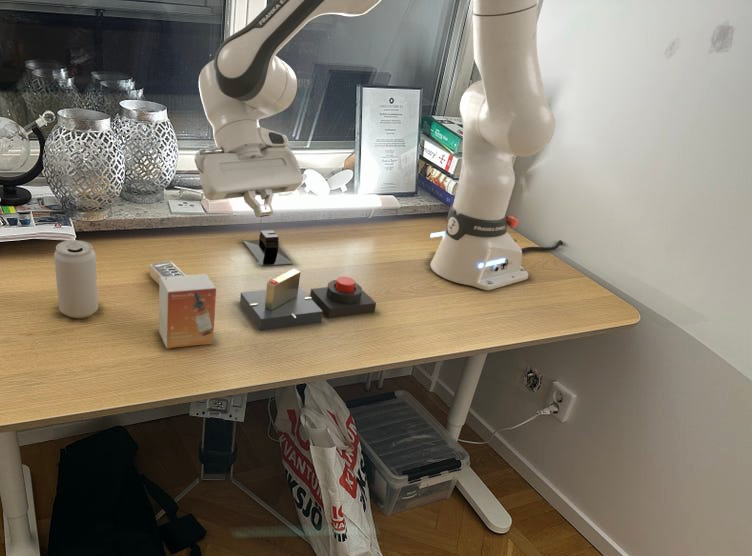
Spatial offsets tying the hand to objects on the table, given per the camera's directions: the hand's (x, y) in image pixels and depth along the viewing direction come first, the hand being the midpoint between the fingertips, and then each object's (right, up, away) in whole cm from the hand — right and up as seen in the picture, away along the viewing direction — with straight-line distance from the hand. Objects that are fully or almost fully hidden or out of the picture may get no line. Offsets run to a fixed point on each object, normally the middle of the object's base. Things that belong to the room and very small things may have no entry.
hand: (265, 215), depth 122 cm
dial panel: (+3, -18, -1) cm, 18 cm away
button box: (+15, -16, +5) cm, 22 cm away
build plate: (-1, -4, +21) cm, 21 cm away
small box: (-13, -23, -12) cm, 29 cm away
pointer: (+3, -16, -2) cm, 17 cm away
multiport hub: (-18, -13, +3) cm, 22 cm away
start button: (+15, -13, +3) cm, 20 cm away
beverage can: (-31, -18, -8) cm, 38 cm away
